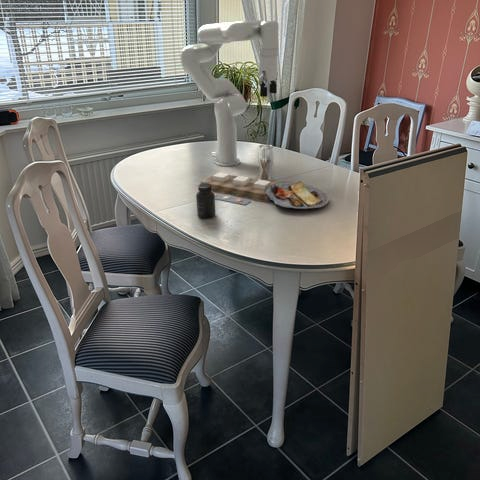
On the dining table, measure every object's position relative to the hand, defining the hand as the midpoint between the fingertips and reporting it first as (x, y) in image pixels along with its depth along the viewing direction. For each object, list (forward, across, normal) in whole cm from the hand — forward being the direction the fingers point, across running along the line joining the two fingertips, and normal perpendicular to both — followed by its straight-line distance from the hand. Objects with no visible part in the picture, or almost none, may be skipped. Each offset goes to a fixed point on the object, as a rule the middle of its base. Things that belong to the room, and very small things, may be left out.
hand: (268, 94), depth 205 cm
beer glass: (+35, +11, +4) cm, 37 cm away
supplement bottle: (+35, +58, +2) cm, 68 cm away
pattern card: (+35, +40, 0) cm, 53 cm away
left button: (+33, +27, -9) cm, 44 cm away
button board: (+35, +28, +1) cm, 45 cm away
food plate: (+34, +29, +26) cm, 52 cm away
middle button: (+33, +28, +1) cm, 43 cm away
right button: (+33, +28, +11) cm, 45 cm away
